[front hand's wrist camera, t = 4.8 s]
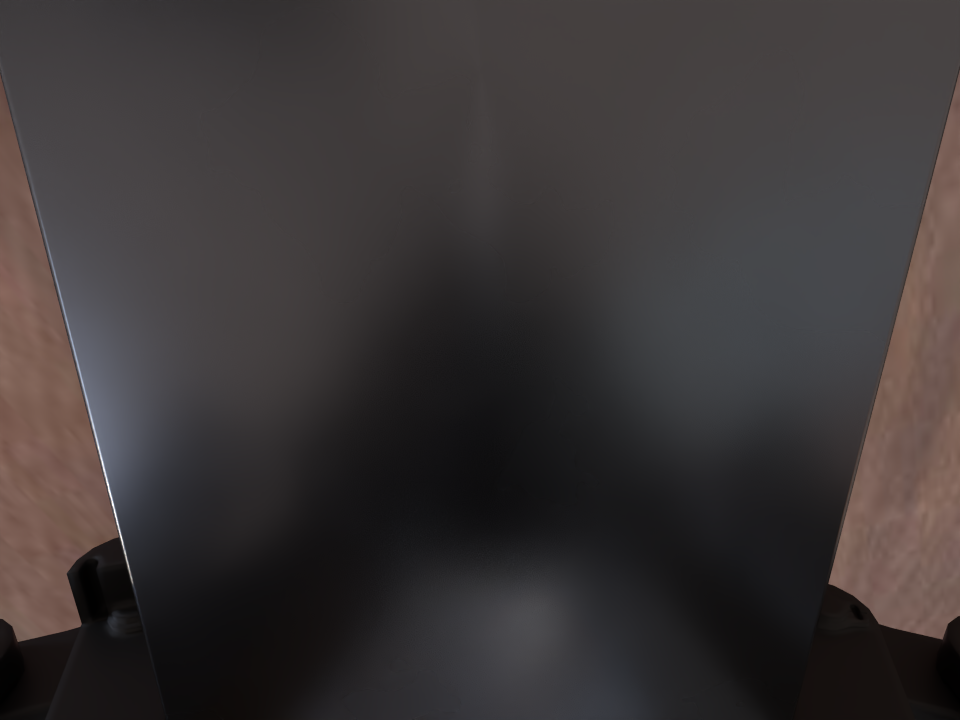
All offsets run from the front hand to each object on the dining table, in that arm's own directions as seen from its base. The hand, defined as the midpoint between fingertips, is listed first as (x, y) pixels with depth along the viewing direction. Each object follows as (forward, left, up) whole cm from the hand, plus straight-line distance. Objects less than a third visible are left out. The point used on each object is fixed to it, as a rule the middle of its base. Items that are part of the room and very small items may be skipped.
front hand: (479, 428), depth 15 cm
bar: (+7, 0, 0) cm, 7 cm away
